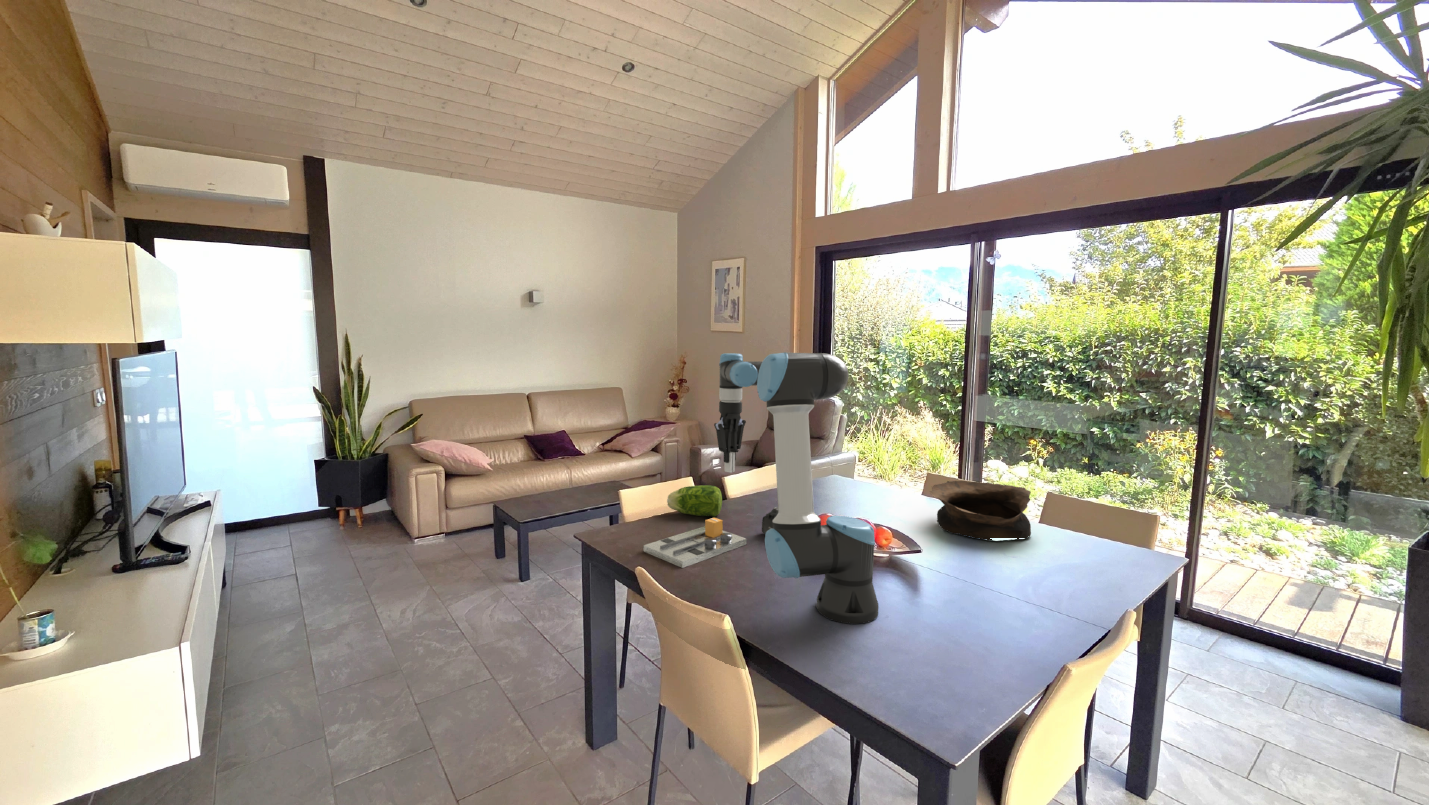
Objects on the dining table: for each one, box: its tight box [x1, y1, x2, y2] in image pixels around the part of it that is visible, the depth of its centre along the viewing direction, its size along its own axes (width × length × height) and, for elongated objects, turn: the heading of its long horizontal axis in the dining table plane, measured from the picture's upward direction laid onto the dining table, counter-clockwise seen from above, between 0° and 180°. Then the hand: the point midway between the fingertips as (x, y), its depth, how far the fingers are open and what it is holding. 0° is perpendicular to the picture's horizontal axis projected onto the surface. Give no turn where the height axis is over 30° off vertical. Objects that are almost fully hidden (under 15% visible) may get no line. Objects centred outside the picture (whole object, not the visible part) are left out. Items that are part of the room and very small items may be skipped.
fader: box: [704, 517, 724, 538], centre depth 199 cm, size 4×4×5 cm
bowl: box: [929, 480, 1032, 541], centre depth 215 cm, size 34×33×15 cm
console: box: [643, 525, 748, 569], centre depth 193 cm, size 18×28×4 cm, turn 135°
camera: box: [761, 506, 778, 535], centre depth 204 cm, size 13×10×10 cm
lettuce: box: [666, 484, 723, 518], centre depth 227 cm, size 12×21×11 cm, turn 86°
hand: (729, 471), depth 201 cm, fingers closed
